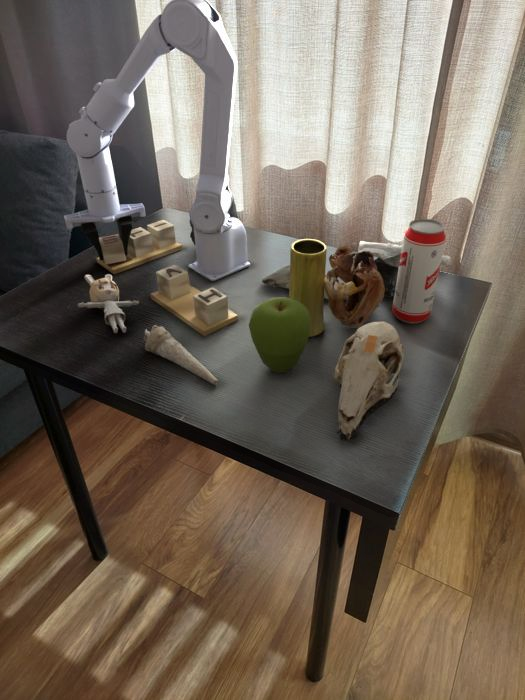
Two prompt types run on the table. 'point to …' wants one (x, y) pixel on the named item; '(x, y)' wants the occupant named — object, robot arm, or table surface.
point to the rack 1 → (146, 246)
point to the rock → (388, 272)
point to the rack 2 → (192, 301)
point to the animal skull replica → (367, 374)
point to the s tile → (112, 249)
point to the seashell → (174, 352)
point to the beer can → (418, 270)
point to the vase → (309, 279)
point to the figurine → (392, 250)
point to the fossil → (283, 279)
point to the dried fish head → (353, 286)
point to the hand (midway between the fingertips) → (113, 255)
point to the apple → (280, 332)
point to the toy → (107, 301)
